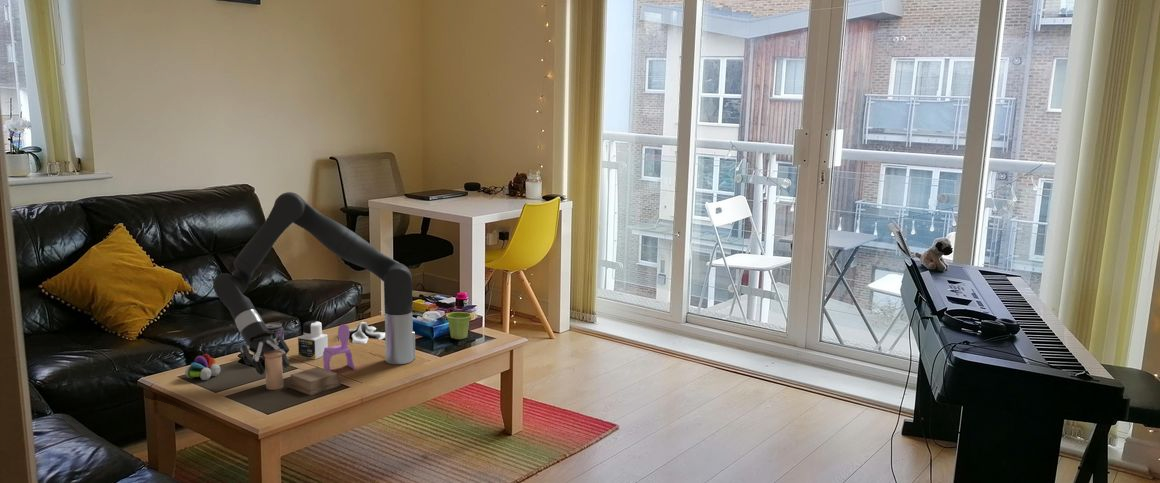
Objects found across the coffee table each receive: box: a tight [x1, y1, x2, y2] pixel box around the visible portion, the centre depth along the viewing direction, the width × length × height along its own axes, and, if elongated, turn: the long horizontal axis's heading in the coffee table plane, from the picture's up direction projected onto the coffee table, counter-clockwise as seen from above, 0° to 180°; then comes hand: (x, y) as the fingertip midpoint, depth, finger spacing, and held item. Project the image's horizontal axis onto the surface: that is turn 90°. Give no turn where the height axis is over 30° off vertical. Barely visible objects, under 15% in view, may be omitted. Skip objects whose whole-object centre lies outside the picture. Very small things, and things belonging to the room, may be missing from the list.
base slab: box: [287, 366, 342, 396], centre depth 267 cm, size 11×11×4 cm
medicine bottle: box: [297, 320, 329, 360], centre depth 297 cm, size 7×7×12 cm
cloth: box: [338, 321, 385, 345], centre depth 321 cm, size 22×19×6 cm
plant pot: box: [445, 311, 472, 340], centre depth 322 cm, size 9×9×9 cm
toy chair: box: [322, 323, 356, 371], centre depth 282 cm, size 8×9×15 cm
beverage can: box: [262, 322, 285, 359], centre depth 292 cm, size 7×7×12 cm
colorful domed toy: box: [184, 353, 221, 381], centre depth 274 cm, size 8×10×7 cm
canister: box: [264, 350, 284, 391], centre depth 266 cm, size 5×5×11 cm
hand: (275, 369), depth 265 cm, fingers open, 8 cm apart
